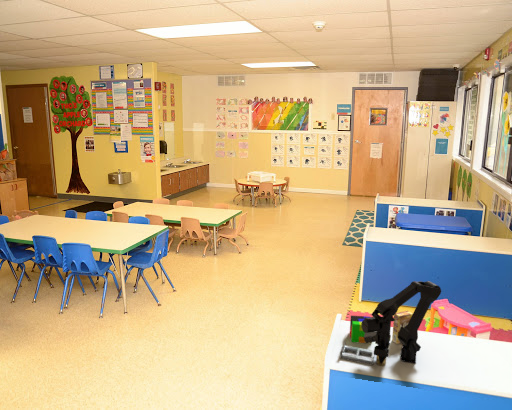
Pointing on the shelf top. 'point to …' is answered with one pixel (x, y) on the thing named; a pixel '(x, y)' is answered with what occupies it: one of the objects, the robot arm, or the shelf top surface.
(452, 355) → the shelf top surface
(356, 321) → the puzzle toy
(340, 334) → the shelf top surface
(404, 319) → the candy box
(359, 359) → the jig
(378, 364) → the gold metal cylinder
